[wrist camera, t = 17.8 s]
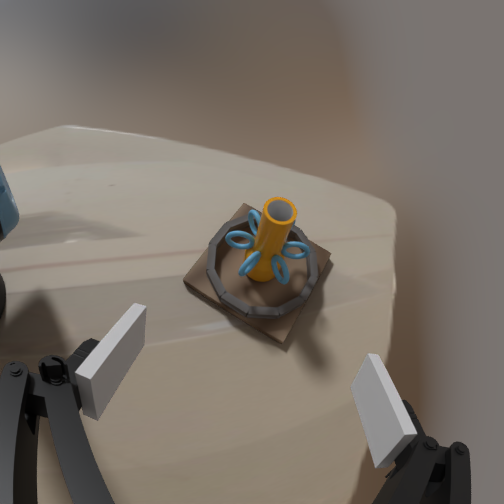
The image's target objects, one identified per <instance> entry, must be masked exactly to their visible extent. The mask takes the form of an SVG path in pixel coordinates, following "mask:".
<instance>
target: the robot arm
mask: <svg viewBox="0 0 504 504" xmlns="http://www.w3.org/2000/svg"><path fill="white" fill-rule="evenodd" d="M18 221H19V212H18V209H17V206H16V203H15V200H14V198H13V195H12V193H11V190H10V188H9V185H8V183H7V180H6V178H5V175H4V173H3V171H2V168H1V166H0V242H1V241H2V240H3V239H5V238H6V236H7V235H8V234H9V233H10V232H11V231H12V230H13V229H14V228H15V227H16V225H17V223H18ZM4 304H5V285H4V281H3V278H2V276H1V274H0V318H1V316H2V313H3V309H4ZM146 308H147V306H144V305H140V304H137V303H134V304H133V305H132V306H131V307H130V308H129V309H128V311H127V312H126V313H125V314H124V315H123V316H122V317H121V318H120V320H119V321H118V322H117V323H116V324H115V325H114V326H113V328H112V329H111V330H110V331H109V332H108V333H107V335H106V336H105V337H104V338H103V339H102V340H101V342H100V341H97V340H95V339H92V338H91V339H89V340H87V341H84V342H83V343H82V344H81V345H80V346H79V347H78V349H76V350H75V352H74V353H73V354H72V355H71V356H70V357H69V358H68V359H67V360H66V361H65V360H64V359H63V358H62V357H59V356H55V355H50V356H46V357H44V358H42V359H41V360H40V362H39V366H38V367H39V371H40V374H41V375H40V374H36V373H31V372H29V371H28V368H27V366H26V365H25V364H24V363H22V362H19V361H12V362H9V363H8V364H6V365H5V367H4V368H3V371H2V374H1V378H0V504H38V501H37V446H38V431H39V420H40V416H42V417H47V418H49V423H50V428H51V432H52V436H53V441H54V445H55V448H56V452H57V456H58V459H59V463H60V466H61V469H62V472H63V475H64V478H65V481H66V484H67V487H68V490H69V493H70V495H71V498H72V501H73V503H74V504H115V503H114V501H113V499H112V497H111V495H110V493H109V491H108V489H107V487H106V484H105V482H104V480H103V478H102V475H101V473H100V471H99V468H98V466H97V463H96V461H95V458H94V456H93V453H92V450H91V448H90V445H89V442H88V439H87V437H86V434H85V431H84V428H83V424H82V421H81V418H80V415H79V410H80V409H81V407H82V410H83V414H84V415H86V416H88V417H90V418H93V419H95V420H97V421H98V420H99V418H100V416H101V415H102V413H103V411H104V410H105V408H106V406H107V404H108V403H109V401H110V399H111V398H112V396H113V395H114V393H115V391H116V390H117V388H118V386H119V385H120V383H121V381H122V380H123V378H124V376H125V375H126V373H127V372H128V370H129V368H130V367H131V365H132V364H133V362H134V360H135V359H136V357H137V356H138V354H139V352H140V351H141V349H142V348H143V346H144V341H145V323H146ZM351 390H352V394H353V397H354V400H355V403H356V406H357V409H358V412H359V415H360V418H361V422H362V425H363V428H364V431H365V435H366V438H367V441H368V444H369V448H370V451H371V455H372V458H373V461H374V465H375V468H384V467H388V466H389V465H390V464H391V463H392V462H393V461H395V464H396V466H395V467H394V468H393V469H392V470H391V471H390V473H388V474H387V476H386V478H387V477H388V476H389V477H388V478H387V480H386V482H385V484H384V485H383V487H382V489H381V490H380V492H379V493H378V495H377V497H376V498H375V500H374V501H373V503H372V504H471V470H470V455H469V449H468V448H467V446H466V445H465V444H463V443H461V442H454V443H453V444H452V445H451V446H450V447H449V448H447V447H442V446H439V444H438V443H437V441H436V440H435V439H434V438H432V437H429V436H426V435H425V433H424V431H423V429H422V427H421V424H420V423H419V420H418V419H417V416H416V414H414V411H413V408H412V407H411V405H410V404H409V403H408V402H407V401H406V400H401V398H400V396H399V394H398V392H397V390H396V388H395V386H394V384H393V382H392V380H391V378H390V376H389V374H388V372H387V370H386V368H385V366H384V365H383V363H382V361H381V359H380V357H379V355H377V354H369V353H368V354H367V356H366V358H365V360H364V362H363V364H362V366H361V368H360V370H359V372H358V373H357V375H356V377H355V379H354V381H353V383H352V385H351Z"/></svg>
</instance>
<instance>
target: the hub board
mask: <svg viewBox="0 0 504 504" xmlns="http://www.w3.org/2000/svg"><path fill="white" fill-rule="evenodd" d="M250 210H256V209H254V208H253V207H251V206H249V205H247V204H245V203H243V205H242V206H241V207H240V208H239V209H238V211H237V212H236V213H235V214H234V216H233V217H232V218H231V219H230V220H229V221H228V222H226V223H225V224H224V225H223V226H222V227H221V228H220V230H219V231H218V232H217V233H216V235H215V236H214V237H213V238H212V240H211V241H210V242H209V247H208V248H207V249H206V250H205V252H204V253H203V254H202V255H201V257H200V258H199V259H198V261H197V262H196V263H195V264H194V266H193V267H192V268H191V269H190V271H189V272H188V273H187V275H186V276H185V277H184V278H183V282H184V283H185V284H186V285H188V286H189V287H191V288H192V289H194V290H195V291H197V292H198V293H200V294H201V295H203V296H205V297H206V298H208V299H209V300H211V301H212V302H214V303H215V304H217V305H218V306H220V307H222V308H223V309H225V310H226V311H228V312H229V313H231V314H233V315H234V316H236V317H237V318H239V319H241V320H242V321H244V322H246V323H247V324H249V325H250V326H252V327H254V328H255V329H257V330H259V331H260V332H262V333H264V334H265V335H267V336H269V337H270V338H272V339H274V340H275V341H277V342H279V343H280V344H282V343H283V342H284V340H285V338H286V337H287V335H288V333H289V331H290V330H291V328H292V326H293V324H294V323H295V321H296V319H297V317H298V315H299V314H300V312H301V310H302V308H303V306H304V305H305V303H306V301H307V299H308V297H309V295H310V294H311V292H312V290H313V288H314V286H315V284H316V282H317V280H318V278H319V277H320V275H321V273H322V271H323V269H324V267H325V265H326V263H327V261H328V259H329V257H330V255H331V253H330V252H328V251H327V250H325V249H323V248H322V247H320V246H318V245H317V244H315V243H313V242H312V241H310V240H308V239H307V237H306V236H305V234H304V233H303V231H302V230H300V228H298V227H296V226H295V225H294V226H293V228H292V229H291V230H290V232H289V234H288V237H287V239H286V241H285V243H287V242H292V241H296V242H301V243H304V244H306V245H307V246H308V247H309V249H310V254H309V255H308V256H307V257H305V258H303V259H290V258H287V257H285V258H284V261H285V263H286V265H287V267H288V270H289V282H288V283H287V284H281V283H280V282H279V281H278V280H277V279H276V277H274V278H273V279H272V280H270V281H266V282H258V281H255V280H253V279H251V278H250V277H249V276H248V275H247V274H246V275H245V276H243V277H241V276H239V274H238V271H239V269H240V267H241V265H242V264H243V258H244V254H245V249H236V248H233V247H231V246H230V245H228V244H227V242H226V240H225V237H226V235H227V234H228V233H229V232H232V231H244V232H247V233H249V234H251V235H252V236H253V237H254V238H255V237H256V236H255V235H254V234H253V232H252V230H251V228H250V225H249V221H248V213H249V211H250ZM256 211H257V212H258V213H259V215H260V217H261V215H262V213H261V212H260V211H258V210H256ZM253 221H254V224H255V227H256V229H257V230H258V224H257V221H256V219H255V217H254V216H253ZM231 240H232V241H233V242H235V243H238V244H248V243H249V242H250V241H249V240H248V239H246V238H244V237H240V236H235V237H232V238H231ZM286 251H287V252H289V253H292V254H301V253H304V252H305V251H304V250H303V249H302V248H299V247H290V248H287V249H286ZM279 273H280V275H281V276H282V278H284V275H283V271H282V268H280V270H279Z"/></svg>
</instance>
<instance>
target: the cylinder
mask: <svg viewBox="0 0 504 504" xmlns="http://www.w3.org/2000/svg"><path fill="white" fill-rule="evenodd" d="M253 216H254V217H255V219H256V221H257V224H258V230H257V229H256V227H255V224H254V221H253ZM296 216H297V210H296V208H295V206H294V204H293V203H292V202H290V201H289V200H287V199H285V198H281V197H274V198H271V199H269V200H268V201H266V203H265V204H264V208H263V211H262V215H261V217H260V215H259V213H258V212H257V211H256V210H250V211H249V213H248V221H249V225H250V228H251V230H252V232H253V234H254V235H255V236H256V237H255V238H254V237H253V236H252V235H251V234H249V233H247V232H244V231H232V232H229V233H228V234H227V235H226V237H225V240H226V242H227V244H228V245H230V246H231V247H233V248H236V249H245V254H244V258H243V264H242V265H241V267H240V269H239V271H238V274H239V276H241V277H243V276H245V275H246V274H247V275H248V276H249V277H250V278H251V279H253V280H255V281H258V282H266V281H270V280H272V279H273V278H274V277H276V279H277V280H278V281H279V282H280V283H281V284H287V283H288V282H289V270H288V267H287V265H286V263H285V261H284V258H285V257H287V258H290V259H303V258H305V257H307V256H308V255H309V254H310V249H309V247H308V246H307V245H306V244H304V243H301V242H296V241H292V242H287V243H285V241H286V239H287V237H288V234H289V232H290V230H291V229H292V228H293V226H294V224H295V218H296ZM235 236H240V237H244V238H246V239H248V240H249V241H250V242H249V243H248V244H238V243H235V242H233V241H232V240H231V238H232V237H235ZM290 247H299V248H302V249H303V250H304V251H305V252H304V253H301V254H292V253H289V252H287V251H286V249H287V248H290ZM280 268H282V271H283V275H284V278H282V276H281V275H280V273H279V270H280Z"/></svg>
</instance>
